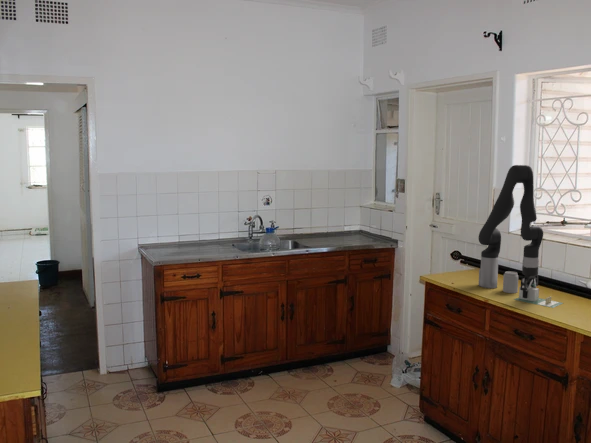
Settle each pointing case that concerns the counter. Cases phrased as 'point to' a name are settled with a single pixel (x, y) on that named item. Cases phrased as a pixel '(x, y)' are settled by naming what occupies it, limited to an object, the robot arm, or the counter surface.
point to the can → (510, 282)
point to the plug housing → (530, 294)
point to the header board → (542, 302)
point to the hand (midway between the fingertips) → (528, 296)
